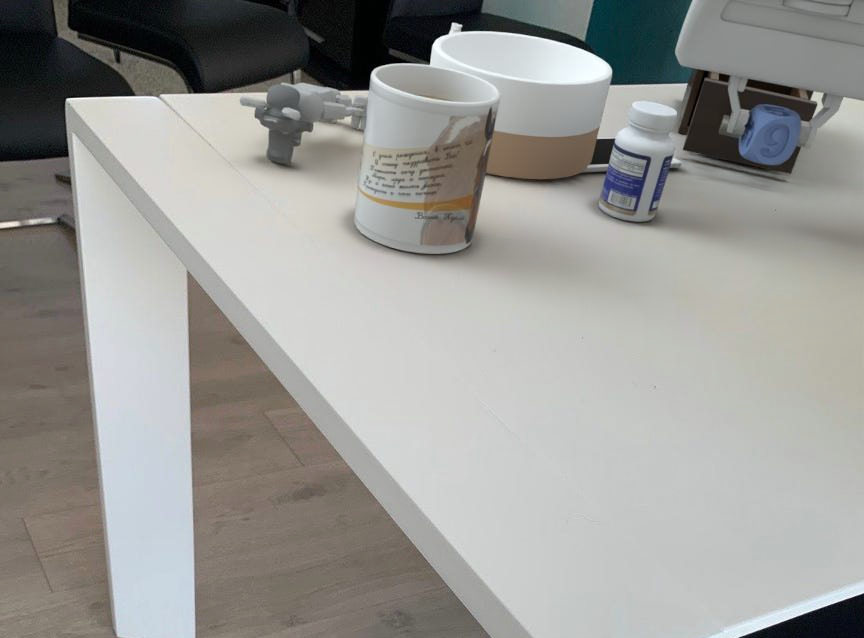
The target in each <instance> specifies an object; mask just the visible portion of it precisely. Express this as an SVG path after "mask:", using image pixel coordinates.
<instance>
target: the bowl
mask: <svg viewBox="0 0 864 638" xmlns="http://www.w3.org/2000/svg"><path fill="white" fill-rule="evenodd" d="M429 65H431V66H438V67H443V68H448V69H453V70H457V71H461V72H464V73H467V74H470V75H473V76H476V77H479V78H481V79H483V80H485V81H487V82H489V83H490V84H492V85H494V86H495V87H496V88H497V89H498V90H499V92H500V95H501V97H500V102H499V108H498V113H497V118H496V123H495V128H494V133H493V138H492V143H491V149H490V154H489V159H488V164H487V169H486V174H489V175H495V176H501V177H507V178H515V179H523V180H551V179H561V178H569V177H572V176H576V175H578V174H581V173H584V172H583V171H584V170H586V168H587V167H588V165H589V164H590V163H591V161H592V157H593V153H594V149H595V144H596V140H597V138H598V135H599V132H600V128H601V127H600V126H601V124H602V120H603V115H604V112H605V107H606V104H607V100H608V95H609V90H610V86H611V83H612V79H613V69H612V67H611V65H610V64H609V63H608V62H606V61H605V60H604V59H603V58H601V57H599V56H597V55H596V54H594V53H591V52H590V51H588V50H584V49H582V48H579V47H577V46H573V45H571V44H567V43H564V42H560V41H557V40H553V39H549V38H543V37H539V36H532V35H529V34H528V35H526V34H522V33H512V32H504V31H503V32H502V31H490V30H489V31H486V30H482V31H480V30H472V31H471V30H470V31H461V32H459V33H452V34H449V33H448V34H445V35H441V36H440V37H438V38H436V39H435V40H434V42H433V44H432V45H431V53H430V62H429Z"/></svg>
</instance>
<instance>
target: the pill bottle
mask: <svg viewBox="0 0 864 638" xmlns="http://www.w3.org/2000/svg"><path fill="white" fill-rule="evenodd" d="M627 117H628V118H627V122H628V123H629V125H628V126H626V127H624V128H622V129H620V131H618V133H617V134H616V136H615V137H616V139H615V142H614V146H613V149H612V153H611V157H610V161H609V165H608V169H607V171H606V172H605V173H606V174H605V177H604V181H603V185H602V188H601V193H600V196H599V200H598V207H599V209H600V210H601V211H602V212H603V213H605V214H606V215H608V216H610V217H613V218H615V219H619V220H621V221H622V220H623V221H628V222H635V223H638V222H639V223H643V222H648V221H651V220H653V219H654V218H655V216H656V214H657V212H658V209H659V205H660V203H661V202H660V201H661V198H662V195H663V191H664V188H665V185H666V181H667V179H668V175H669V171H670V169H671V168H670V165H671V161H672V158H673V157H674V154H675V151H676V143H675V140H674V139H673V138H672V137H671V136H670V132H673V130H674V127H675V125H676V121H677V118H678V110H676V109H675V108H673V107H671V106H668V105H666V104H662V103H659V102H654V101H649V100H648V101H647V100H638V101H633V102H632V103H631V107H630V110H629V113H628V116H627Z"/></svg>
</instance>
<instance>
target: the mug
mask: <svg viewBox="0 0 864 638" xmlns="http://www.w3.org/2000/svg"><path fill="white" fill-rule="evenodd" d="M367 94H368V96H367V97H368V103H367V111H366V120H365V129H364V131H363V137H362V138H363V139H362V145H361V156H360V163H359V171H358V172H359V173H358V183H357V191H356V199H355V206H354V207H355V208H354V215H353V216H354V217H353V222H354V226H355V227H356V228H357V231H359V232H360V233H361V234H362V235H364V236H365V237H367V238H368V239H370V240H371V241H374V242H376V243H377V244H380V245H382V246H386V247H389V248H392V249H396V250H399V251H405V252H410V253H416V254H426V255H427V254H428V255H429V254H430V255H442V254H451V253H455V252H459V251H462V250H464V249H466V248H468V246H470V244H471V243H472V242H473V240H474V236H475V230H476V225H477V220H478V214H479V210H480V205H481V199H482V194H483V191H484V190H483V189H484V183H485V179H486V175H487V173H486V169H487V164H488V159H489V154H490V149H491V143H492V138H493V133H494V128H495V123H496V118H497V113H498V108H499V102H500V97H501V95H500V92H499V90H498V89H497V88H496V87H495V86H494V85H492V84H490V83H489V82H487V81H485V80H483V79H481V78H479V77H476V76H473V75H470V74H467V73H464V72H461V71H457V70H453V69H448V68H443V67H438V66H431V65H430V64H423V63H408V62H407V63H406V62H405V63H389V64H385V65H380V66H378V67H375V68H374V69H373V70H372V71H371V73H370V78H369V87H368V93H367Z"/></svg>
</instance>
